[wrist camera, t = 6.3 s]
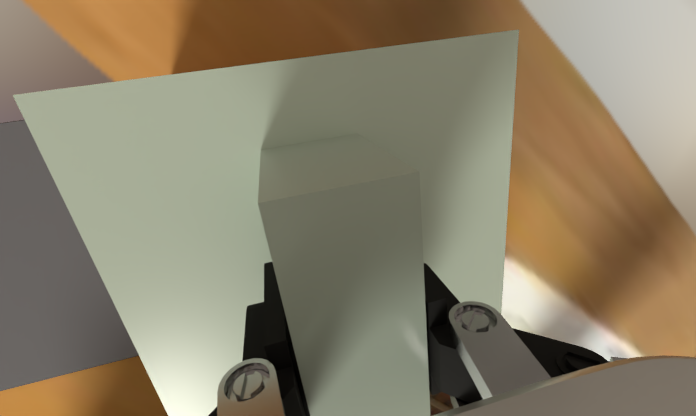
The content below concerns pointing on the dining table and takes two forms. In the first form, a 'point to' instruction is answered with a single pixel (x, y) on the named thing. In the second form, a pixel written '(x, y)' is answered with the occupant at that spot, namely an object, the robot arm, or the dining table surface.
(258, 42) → the dining table surface
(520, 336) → the robot arm
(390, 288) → the lid
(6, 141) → the mat
